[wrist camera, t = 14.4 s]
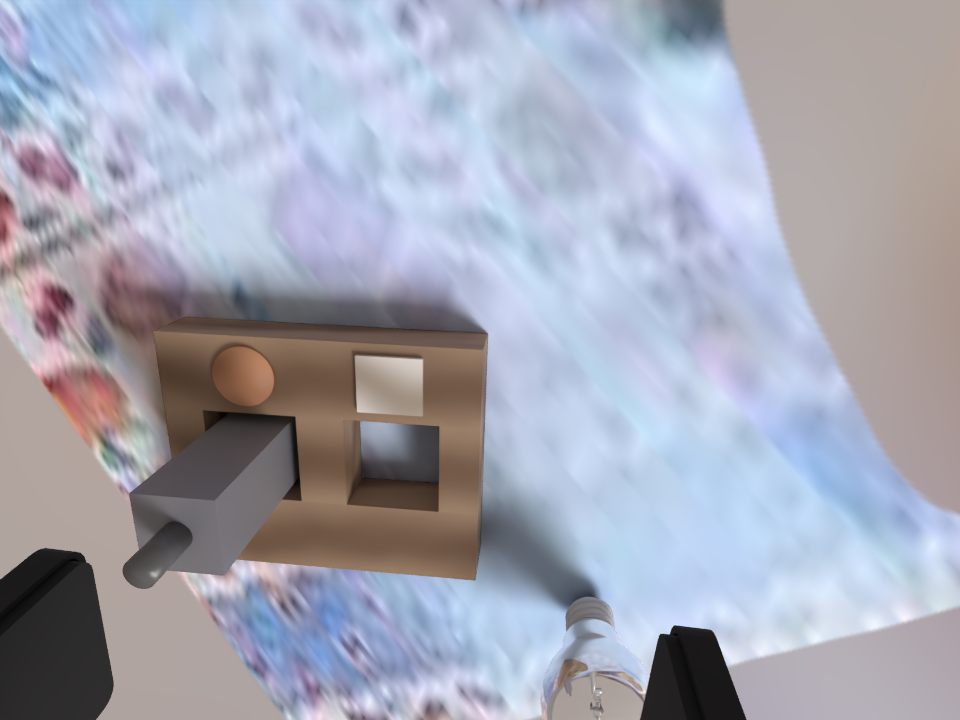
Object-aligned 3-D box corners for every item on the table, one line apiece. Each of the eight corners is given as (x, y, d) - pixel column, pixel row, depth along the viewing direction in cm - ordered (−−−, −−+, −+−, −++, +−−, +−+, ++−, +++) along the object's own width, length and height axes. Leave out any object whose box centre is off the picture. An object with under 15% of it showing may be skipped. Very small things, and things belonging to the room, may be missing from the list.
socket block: (185, 317, 39) (149, 332, 36) (487, 333, 38) (482, 351, 34) (212, 525, 44) (184, 557, 41) (480, 548, 43) (474, 583, 39)
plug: (242, 401, 41) (85, 528, 27) (305, 406, 40) (179, 536, 26) (248, 459, 42) (102, 609, 28) (309, 463, 42) (191, 618, 28)
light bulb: (522, 614, 44) (516, 770, 33) (572, 547, 42) (584, 689, 31) (602, 656, 45) (624, 824, 33) (655, 592, 42) (698, 748, 31)
